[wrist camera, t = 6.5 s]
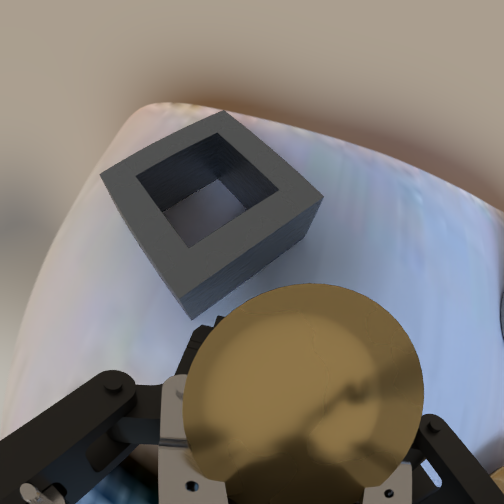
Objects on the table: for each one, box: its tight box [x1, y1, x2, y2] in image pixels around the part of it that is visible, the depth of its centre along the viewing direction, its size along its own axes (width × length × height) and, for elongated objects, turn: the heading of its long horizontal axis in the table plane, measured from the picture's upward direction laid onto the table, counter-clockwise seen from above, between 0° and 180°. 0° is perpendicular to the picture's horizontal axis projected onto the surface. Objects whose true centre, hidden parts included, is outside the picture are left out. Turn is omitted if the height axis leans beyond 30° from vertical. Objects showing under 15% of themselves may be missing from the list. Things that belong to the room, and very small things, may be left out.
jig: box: [100, 110, 324, 320], centre depth 17 cm, size 9×9×4 cm
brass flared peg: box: [182, 283, 424, 504], centre depth 10 cm, size 5×5×11 cm
